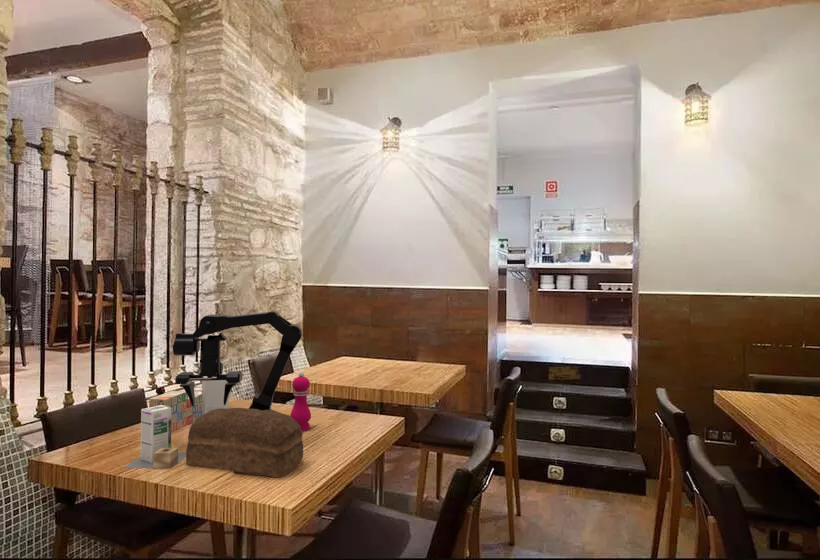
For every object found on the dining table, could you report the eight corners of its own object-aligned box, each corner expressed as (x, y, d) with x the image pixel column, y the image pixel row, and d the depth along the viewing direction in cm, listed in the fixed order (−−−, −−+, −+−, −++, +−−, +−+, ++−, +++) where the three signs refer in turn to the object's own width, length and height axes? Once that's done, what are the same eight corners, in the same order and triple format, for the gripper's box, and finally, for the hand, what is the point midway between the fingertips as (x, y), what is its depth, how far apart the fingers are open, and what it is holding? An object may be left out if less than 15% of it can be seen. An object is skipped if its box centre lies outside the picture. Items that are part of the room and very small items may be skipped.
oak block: (177, 462, 132) (178, 447, 132) (169, 468, 128) (170, 453, 128) (161, 462, 132) (162, 447, 132) (153, 468, 128) (153, 452, 128)
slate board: (190, 455, 140) (191, 452, 140) (170, 471, 128) (170, 468, 128) (146, 455, 139) (147, 452, 140) (122, 470, 127) (122, 467, 127)
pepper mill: (314, 429, 166) (314, 372, 166) (294, 433, 162) (295, 374, 162) (306, 424, 172) (307, 369, 172) (286, 428, 168) (287, 371, 168)
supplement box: (228, 415, 184) (229, 376, 185) (204, 417, 180) (204, 378, 180) (225, 409, 192) (225, 372, 192) (201, 412, 188) (201, 374, 188)
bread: (283, 480, 123) (284, 419, 123) (178, 468, 130) (179, 410, 131) (308, 461, 137) (309, 406, 137) (212, 450, 144) (213, 398, 145)
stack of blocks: (187, 417, 180) (188, 385, 181) (202, 418, 179) (203, 385, 180) (148, 434, 159) (148, 397, 160) (165, 435, 158) (165, 398, 159)
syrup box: (151, 463, 131) (152, 411, 131) (139, 459, 134) (141, 408, 134) (171, 457, 136) (172, 406, 136) (159, 453, 139) (160, 404, 139)
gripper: (245, 351, 157) (244, 398, 157) (185, 351, 154) (184, 400, 154) (239, 356, 146) (238, 406, 146) (175, 356, 143) (174, 408, 143)
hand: (209, 405), depth 147 cm, fingers open, 9 cm apart
